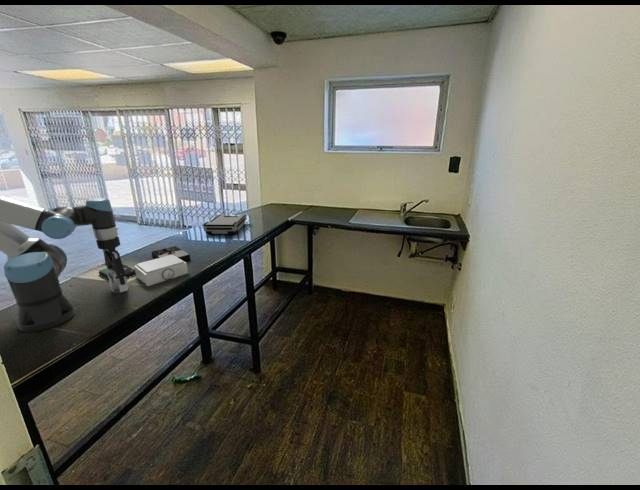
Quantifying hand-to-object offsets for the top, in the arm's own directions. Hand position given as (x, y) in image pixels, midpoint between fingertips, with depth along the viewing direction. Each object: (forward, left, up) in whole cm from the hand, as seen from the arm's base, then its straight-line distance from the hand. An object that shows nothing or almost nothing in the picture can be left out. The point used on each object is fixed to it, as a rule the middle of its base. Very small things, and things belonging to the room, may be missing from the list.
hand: (119, 286), depth 124 cm
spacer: (0, 0, -2) cm, 2 cm away
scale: (+18, +2, -2) cm, 18 cm away
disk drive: (+4, +18, -2) cm, 19 cm away
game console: (+80, +47, -2) cm, 93 cm away
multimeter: (+29, +20, -2) cm, 35 cm away
